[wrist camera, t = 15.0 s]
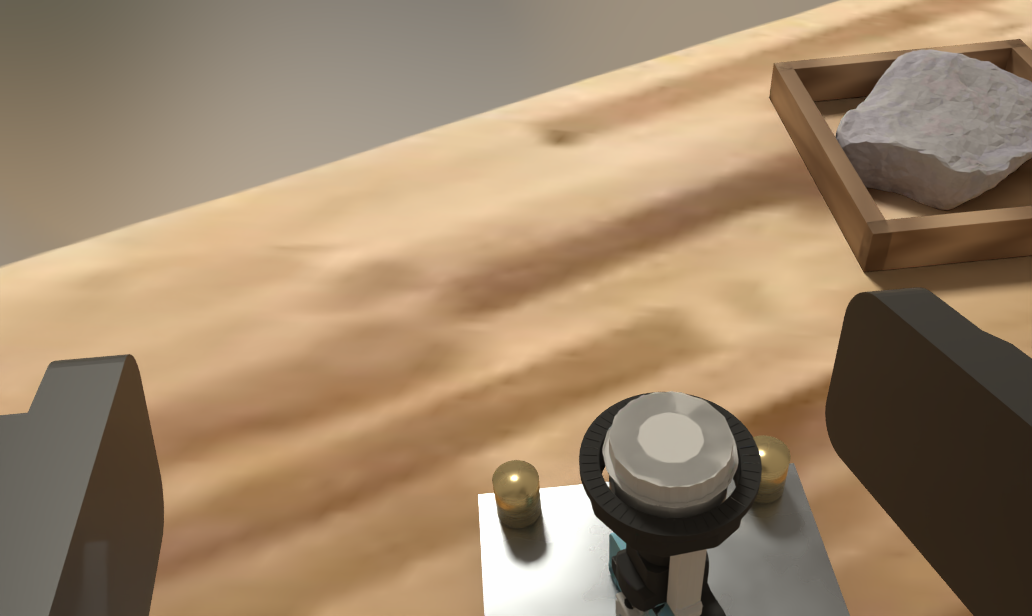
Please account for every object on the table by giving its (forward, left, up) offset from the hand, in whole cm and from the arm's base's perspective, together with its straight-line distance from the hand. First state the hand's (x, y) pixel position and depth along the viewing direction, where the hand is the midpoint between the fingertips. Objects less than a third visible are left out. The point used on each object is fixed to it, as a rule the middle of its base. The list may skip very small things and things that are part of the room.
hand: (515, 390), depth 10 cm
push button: (+5, +9, -24) cm, 26 cm away
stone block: (+27, +38, -25) cm, 53 cm away
